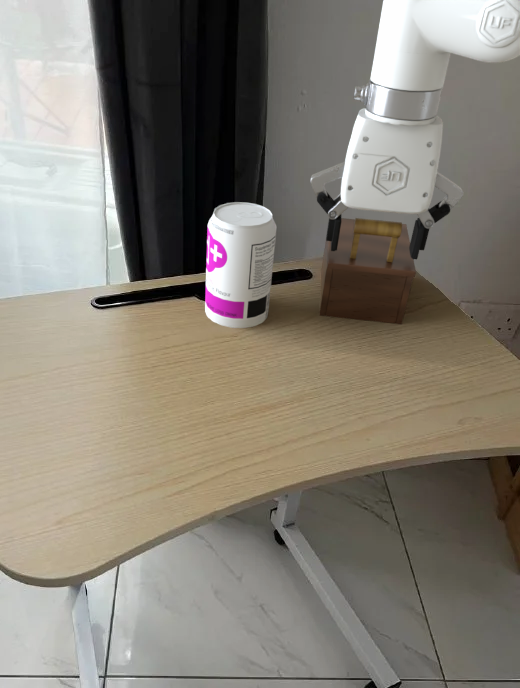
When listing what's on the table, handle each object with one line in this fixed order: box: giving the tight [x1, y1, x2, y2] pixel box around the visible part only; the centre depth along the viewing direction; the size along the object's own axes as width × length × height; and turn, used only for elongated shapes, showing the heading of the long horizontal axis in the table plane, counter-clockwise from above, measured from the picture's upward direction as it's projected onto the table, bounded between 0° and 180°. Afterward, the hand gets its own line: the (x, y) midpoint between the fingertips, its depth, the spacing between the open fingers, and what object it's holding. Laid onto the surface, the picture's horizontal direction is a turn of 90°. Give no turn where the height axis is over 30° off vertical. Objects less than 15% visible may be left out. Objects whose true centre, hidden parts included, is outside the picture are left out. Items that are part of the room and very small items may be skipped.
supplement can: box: [204, 201, 278, 329], centre depth 82 cm, size 8×8×15 cm
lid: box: [327, 217, 417, 278], centre depth 84 cm, size 14×11×6 cm
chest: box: [318, 240, 414, 325], centre depth 89 cm, size 14×11×9 cm
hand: (373, 250), depth 81 cm, fingers open, 9 cm apart
